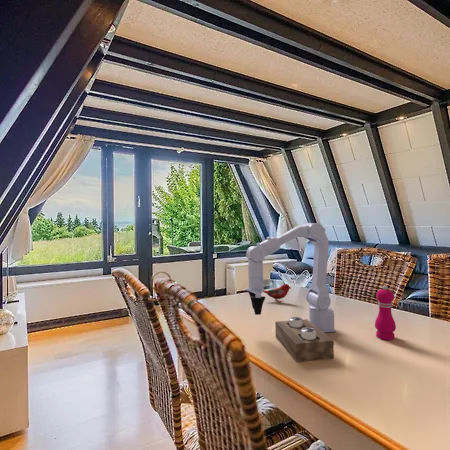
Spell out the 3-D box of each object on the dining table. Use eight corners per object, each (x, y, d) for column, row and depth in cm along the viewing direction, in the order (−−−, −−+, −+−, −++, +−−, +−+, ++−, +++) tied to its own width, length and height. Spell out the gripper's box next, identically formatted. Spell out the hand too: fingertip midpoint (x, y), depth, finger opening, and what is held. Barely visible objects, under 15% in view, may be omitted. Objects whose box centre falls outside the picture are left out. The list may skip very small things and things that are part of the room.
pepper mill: (370, 335, 127) (370, 284, 126) (384, 332, 130) (384, 282, 129) (385, 342, 120) (385, 288, 120) (400, 339, 123) (400, 286, 122)
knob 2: (312, 344, 115) (312, 326, 115) (318, 349, 110) (318, 331, 110) (299, 345, 114) (298, 327, 114) (304, 351, 109) (304, 333, 109)
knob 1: (299, 331, 127) (299, 316, 127) (305, 336, 122) (304, 320, 122) (287, 332, 126) (287, 317, 126) (292, 337, 121) (291, 321, 121)
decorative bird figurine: (291, 303, 174) (290, 284, 173) (258, 301, 179) (257, 283, 179) (291, 302, 176) (291, 283, 176) (259, 300, 182) (258, 282, 181)
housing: (307, 334, 130) (307, 319, 130) (333, 358, 108) (333, 340, 108) (275, 336, 128) (275, 321, 128) (296, 362, 106) (295, 343, 106)
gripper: (244, 273, 135) (244, 306, 136) (247, 281, 121) (248, 317, 121) (261, 273, 135) (261, 305, 136) (266, 280, 121) (267, 317, 121)
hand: (256, 311), depth 129 cm, fingers open, 7 cm apart
